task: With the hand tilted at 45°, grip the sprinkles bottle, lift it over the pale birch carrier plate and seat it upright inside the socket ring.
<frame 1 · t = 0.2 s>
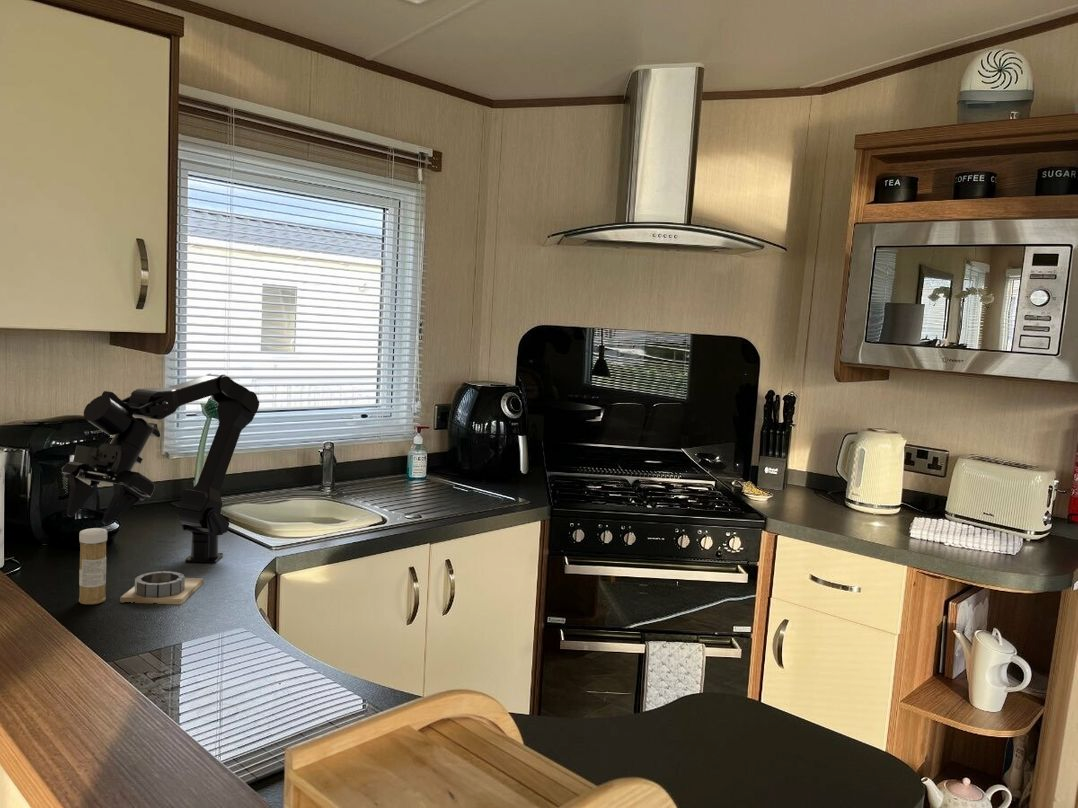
hand: (86, 519, 159), 14 cm above the worktop, tool tilted 35°, fingers open, 9 cm apart
socket ring: (159, 595, 163), resting on carrier plate
carrier plate: (163, 592, 165), on the worktop
sprinkles bottle: (92, 602, 157), on the worktop
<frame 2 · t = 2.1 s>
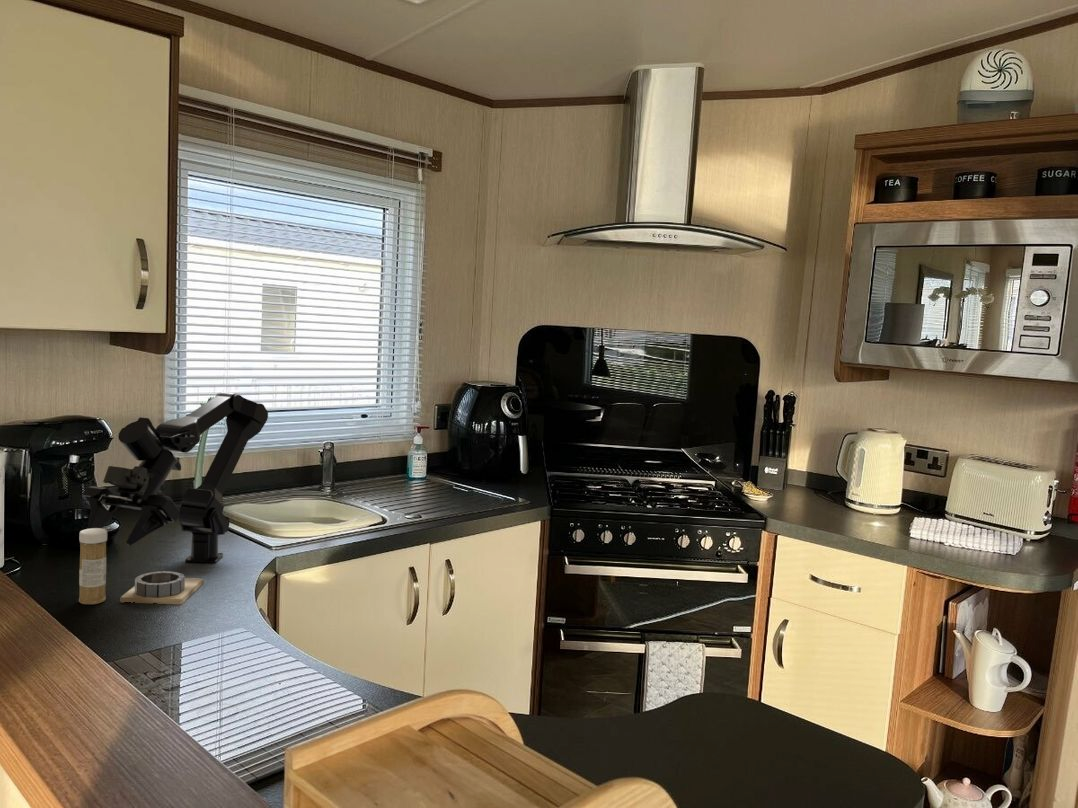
hand: (107, 541, 160), 11 cm above the worktop, tool tilted 45°, fingers open, 9 cm apart
nothing on the worktop moved.
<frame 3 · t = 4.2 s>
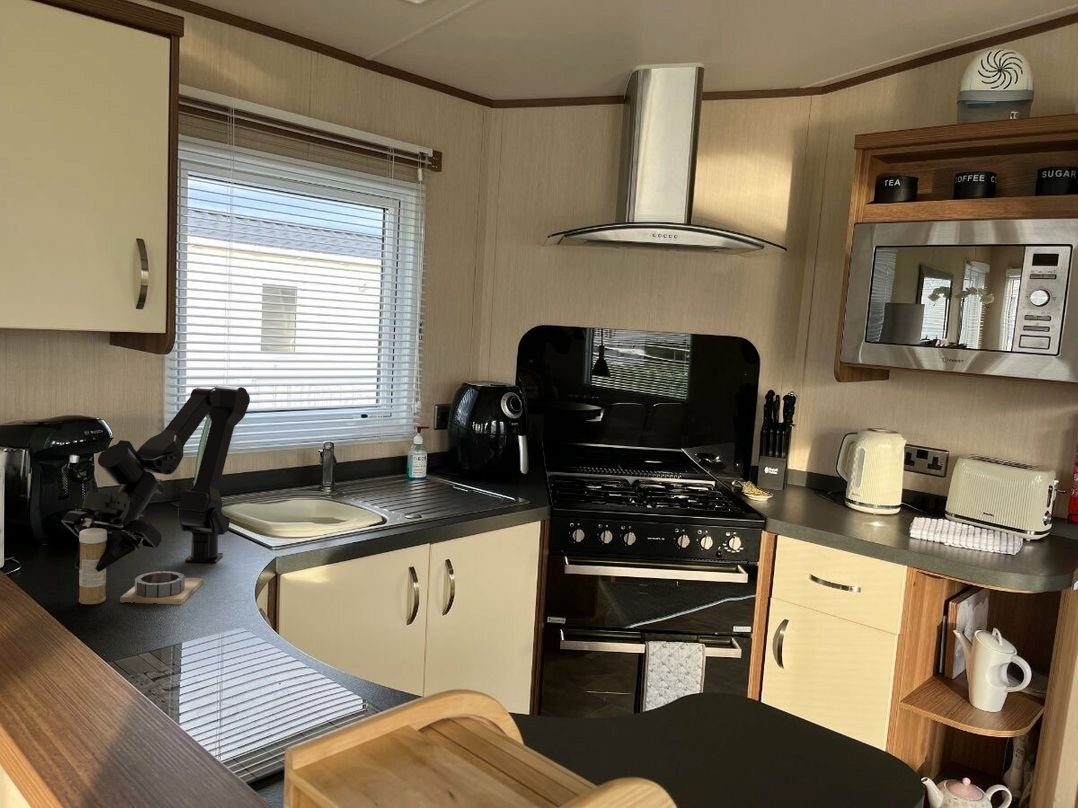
hand: (87, 568, 156), 7 cm above the worktop, tool tilted 45°, fingers closed on sprinkles bottle, 4 cm apart
sprinkles bottle: (92, 602, 157), on the worktop, touching gripper
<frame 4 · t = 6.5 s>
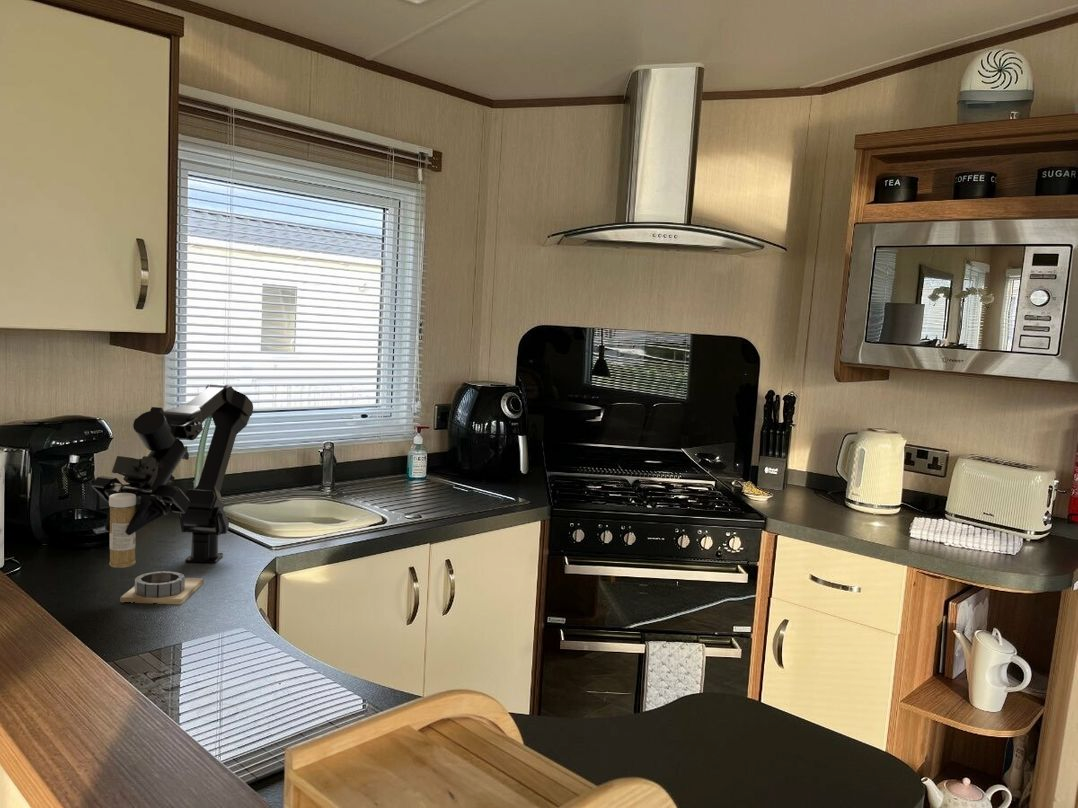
hand: (117, 532, 158), 13 cm above the worktop, tool tilted 45°, fingers closed on sprinkles bottle, 4 cm apart
sprinkles bottle: (122, 566, 160), point 6 cm above the worktop, touching gripper
when the fingers open (8 cm above the worktop, at t = 9.0 s): sprinkles bottle stays where it is, resting on carrier plate.
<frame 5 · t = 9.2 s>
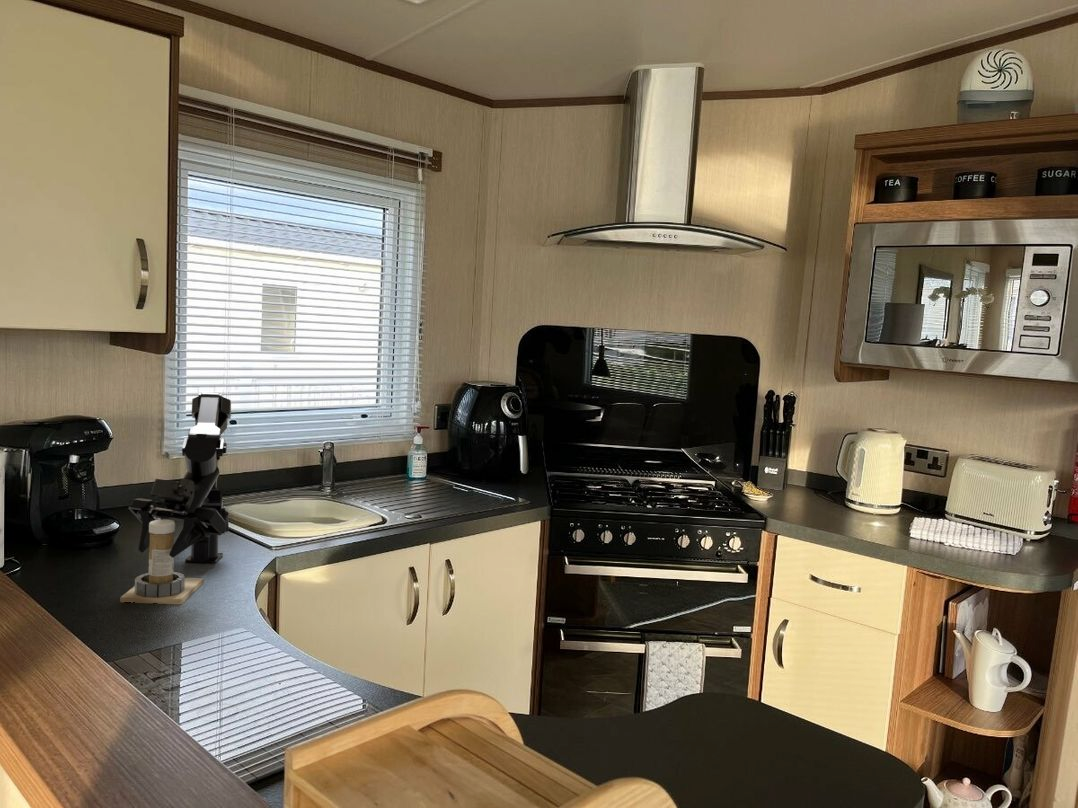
hand: (155, 553, 161), 9 cm above the worktop, tool tilted 45°, fingers open, 7 cm apart
sprinkles bottle: (160, 591, 163), point 1 cm above the worktop, touching carrier plate
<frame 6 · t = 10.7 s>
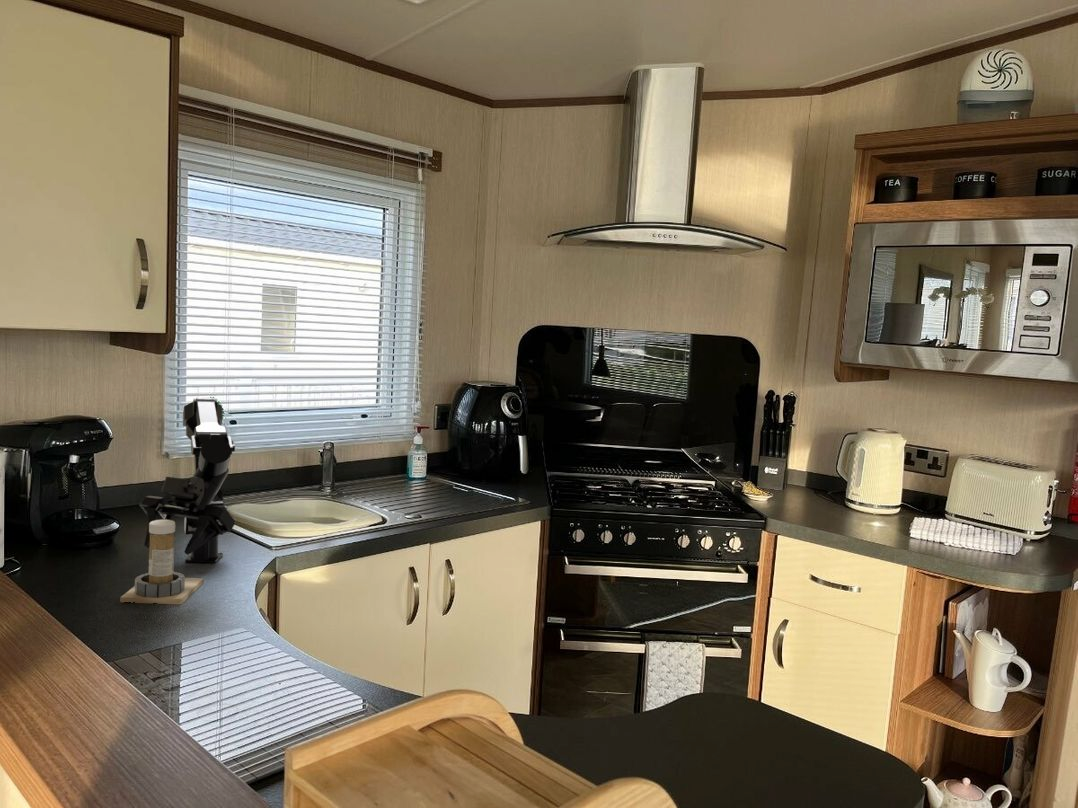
hand: (166, 550, 164), 8 cm above the worktop, tool tilted 45°, fingers open, 9 cm apart
nothing on the worktop moved.
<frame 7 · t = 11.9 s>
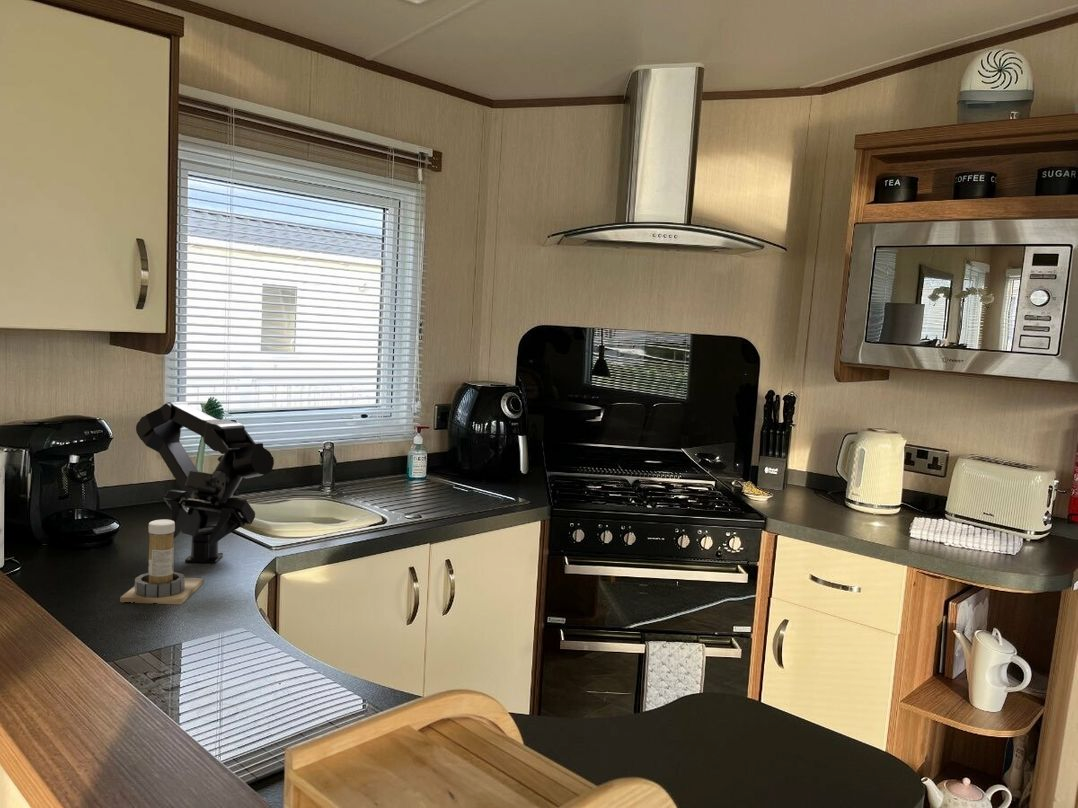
hand: (189, 541, 170), 9 cm above the worktop, tool tilted 45°, fingers open, 9 cm apart
nothing on the worktop moved.
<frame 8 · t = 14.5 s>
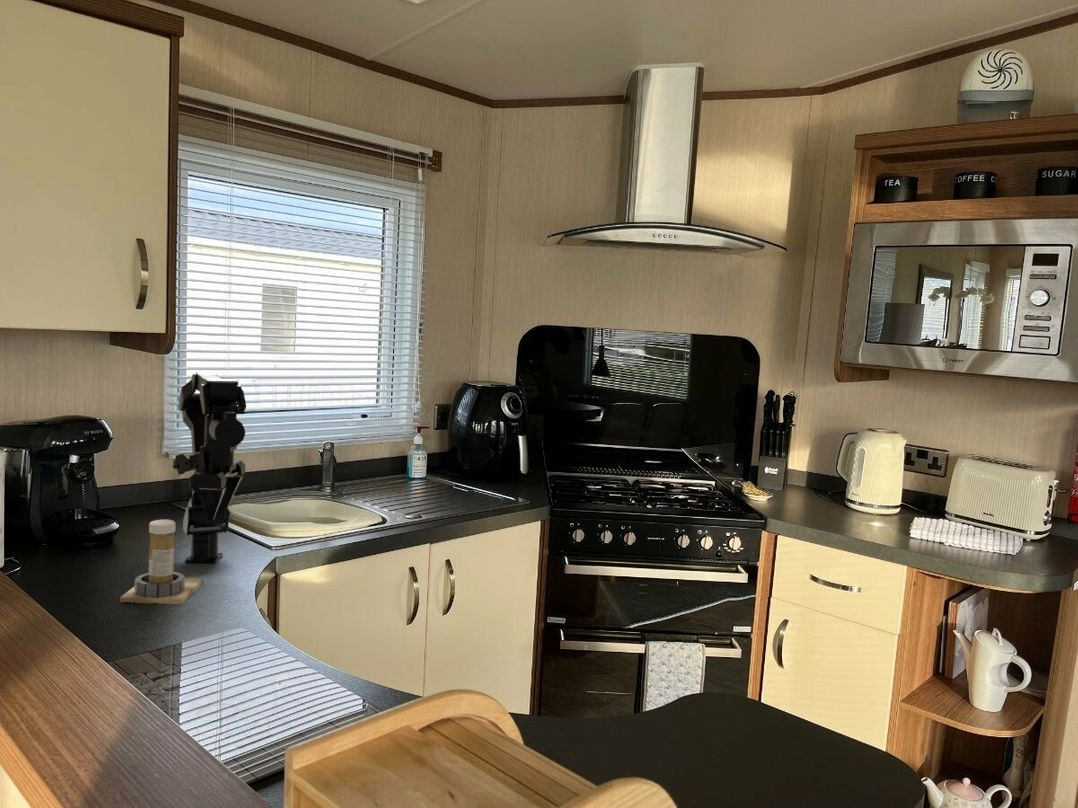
hand: (217, 514, 175), 13 cm above the worktop, tool pointing down, fingers open, 9 cm apart
nothing on the worktop moved.
at the end: sprinkles bottle 0.1 cm off-centre on the socket ring, point 0.8 cm above the socket ring's base; sprinkles bottle tilted 0°; the gripper is holding nothing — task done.
